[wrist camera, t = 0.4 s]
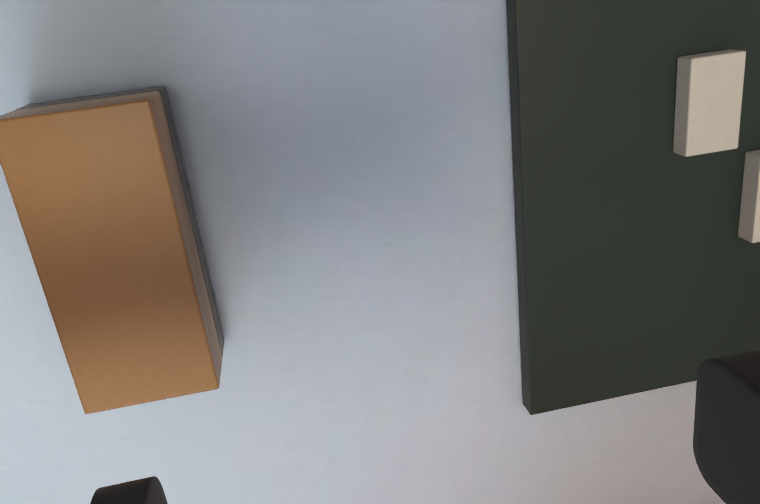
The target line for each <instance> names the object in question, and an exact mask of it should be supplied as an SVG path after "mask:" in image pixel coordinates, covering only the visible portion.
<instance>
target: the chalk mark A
mask: <svg viewBox="0 0 760 504" xmlns="http://www.w3.org/2000/svg"><path fill="white" fill-rule="evenodd" d="M745 60H746V51H743V50H731V49H729V50H723V51H716V52H709V53H702V54H695V55H688V56H681V57H678V63H677V82H676V102H675V122H674V141H673V152H674V153H677V154H680V155H683V156H686V157H688V156H695V155H701V154H707V153H713V152H719V151H725V150H731V149H736V148H738V140H739V128H740V117H741V105H742V94H743V83H744V71H745Z"/></svg>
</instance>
